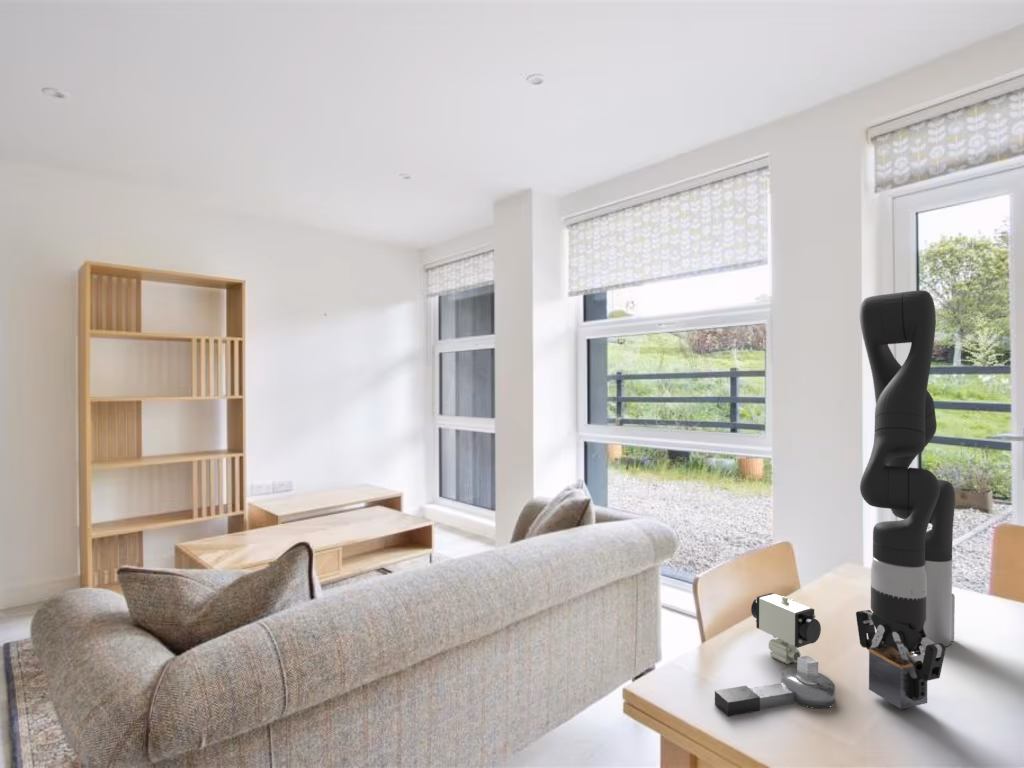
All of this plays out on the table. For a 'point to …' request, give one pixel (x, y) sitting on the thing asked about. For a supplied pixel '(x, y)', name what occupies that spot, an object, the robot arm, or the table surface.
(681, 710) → the table surface
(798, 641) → the pneumatic valve
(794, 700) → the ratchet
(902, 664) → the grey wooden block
